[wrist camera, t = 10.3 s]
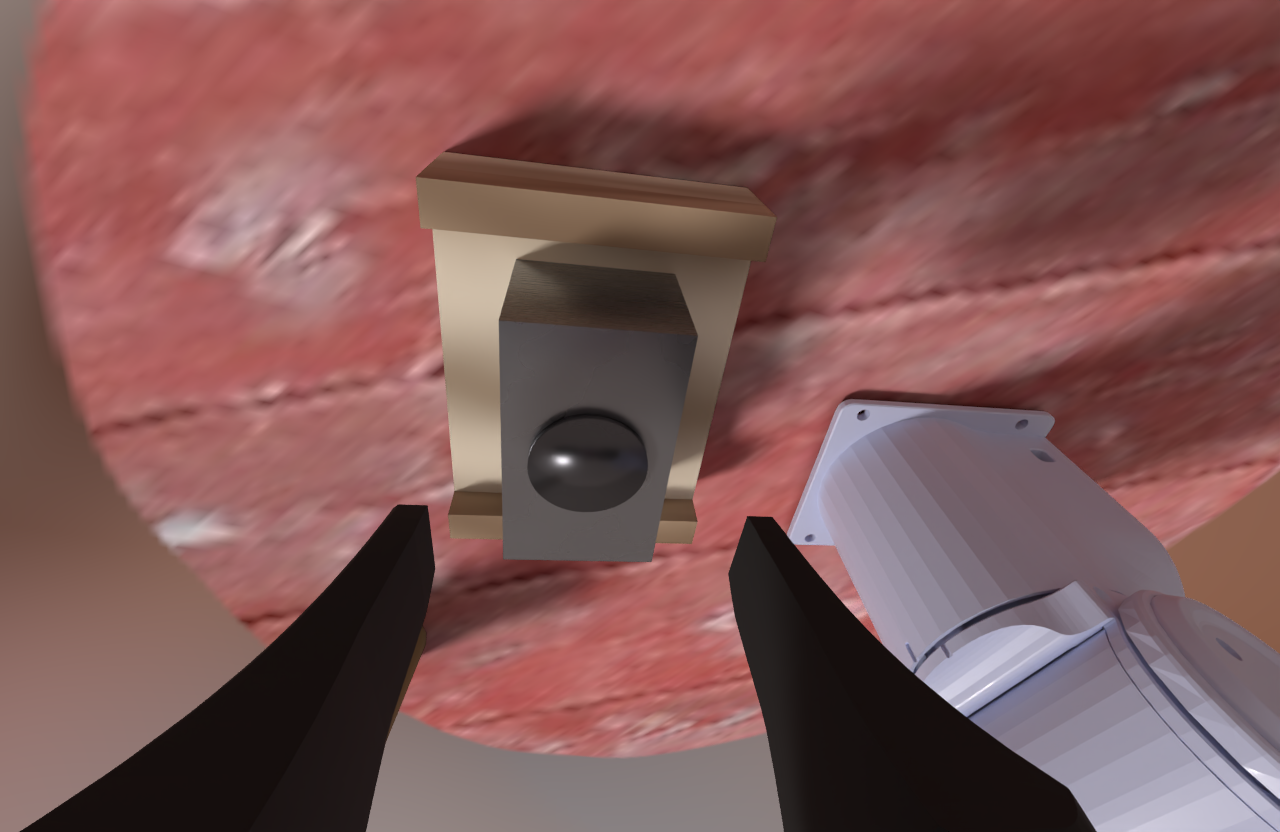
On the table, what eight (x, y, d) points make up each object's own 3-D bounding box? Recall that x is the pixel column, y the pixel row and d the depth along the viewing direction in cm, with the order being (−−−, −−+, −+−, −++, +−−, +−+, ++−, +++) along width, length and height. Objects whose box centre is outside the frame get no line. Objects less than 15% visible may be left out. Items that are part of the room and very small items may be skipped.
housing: (640, 478, 21) (652, 569, 17) (515, 473, 20) (501, 566, 17) (675, 273, 16) (700, 341, 13) (515, 258, 16) (496, 326, 12)
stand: (443, 151, 16) (415, 176, 13) (747, 188, 17) (777, 217, 14) (465, 479, 23) (450, 538, 20) (679, 487, 24) (691, 543, 21)
